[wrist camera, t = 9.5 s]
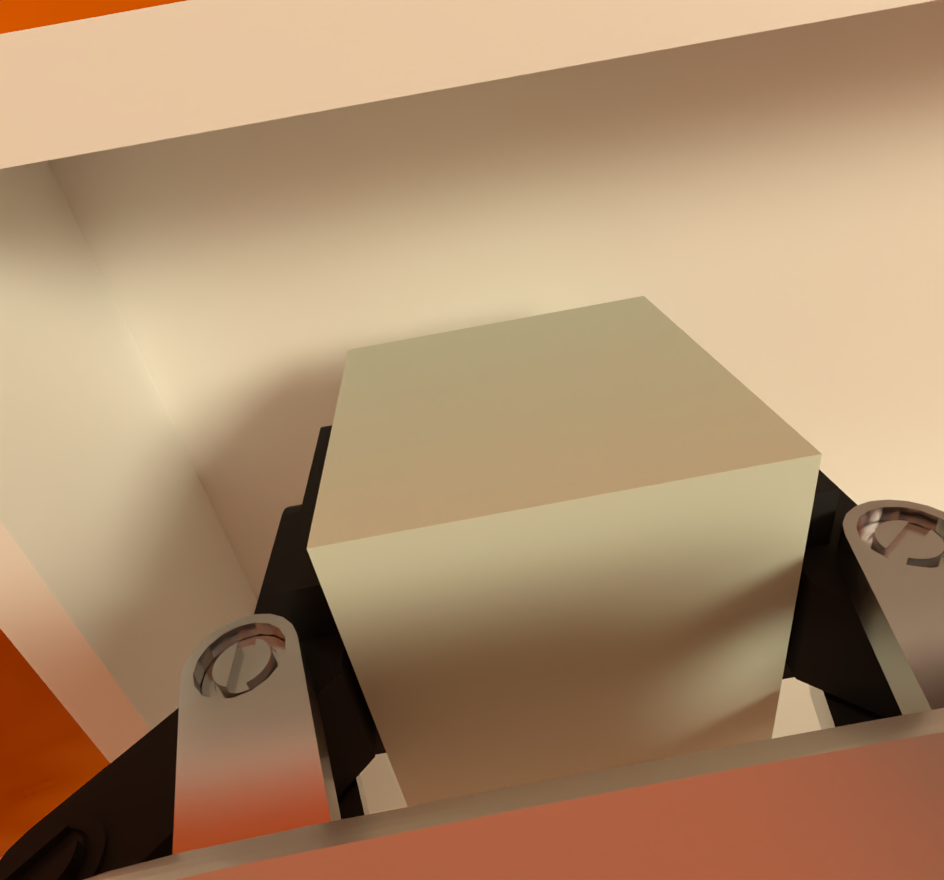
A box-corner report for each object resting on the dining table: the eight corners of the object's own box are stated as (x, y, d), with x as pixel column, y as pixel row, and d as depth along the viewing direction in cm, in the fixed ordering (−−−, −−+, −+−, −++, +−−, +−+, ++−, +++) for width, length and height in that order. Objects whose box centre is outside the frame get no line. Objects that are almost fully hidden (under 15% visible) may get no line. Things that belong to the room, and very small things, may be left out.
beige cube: (643, 295, 10) (821, 454, 6) (645, 526, 13) (769, 754, 8) (348, 349, 10) (305, 549, 6) (410, 570, 13) (413, 820, 8)
